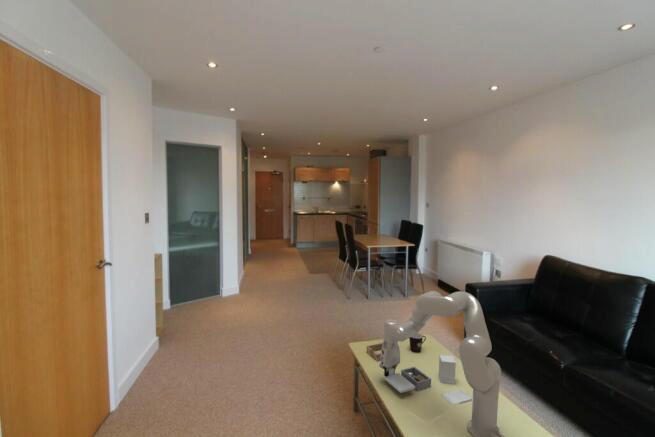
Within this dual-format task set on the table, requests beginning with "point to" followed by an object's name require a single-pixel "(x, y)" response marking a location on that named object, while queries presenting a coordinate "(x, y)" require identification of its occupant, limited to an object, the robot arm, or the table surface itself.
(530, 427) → the table surface
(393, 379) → the lid
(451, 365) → the supplement box
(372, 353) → the frame
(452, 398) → the hard drive
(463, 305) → the robot arm
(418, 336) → the coffee mug
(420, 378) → the walnut block
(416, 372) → the tub
